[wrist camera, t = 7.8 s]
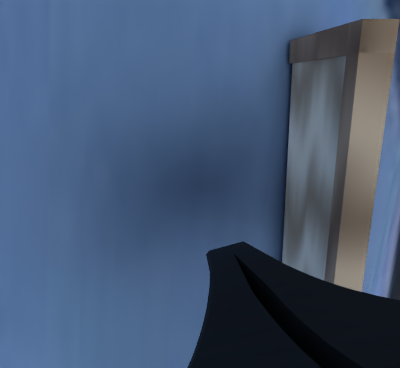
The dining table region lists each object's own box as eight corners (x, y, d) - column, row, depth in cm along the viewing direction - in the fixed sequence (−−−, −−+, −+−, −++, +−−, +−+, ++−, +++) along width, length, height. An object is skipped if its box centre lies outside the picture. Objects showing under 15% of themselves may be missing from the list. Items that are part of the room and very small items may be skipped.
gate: (297, 309, 23) (349, 379, 18) (276, 312, 23) (322, 385, 18) (316, 40, 18) (399, 19, 13) (290, 40, 18) (362, 18, 12)
